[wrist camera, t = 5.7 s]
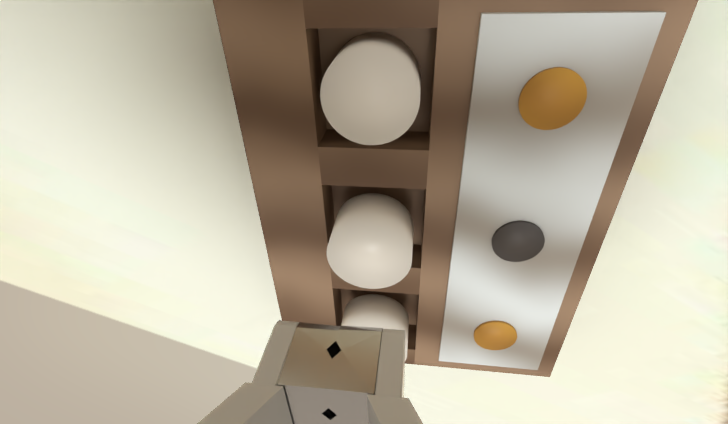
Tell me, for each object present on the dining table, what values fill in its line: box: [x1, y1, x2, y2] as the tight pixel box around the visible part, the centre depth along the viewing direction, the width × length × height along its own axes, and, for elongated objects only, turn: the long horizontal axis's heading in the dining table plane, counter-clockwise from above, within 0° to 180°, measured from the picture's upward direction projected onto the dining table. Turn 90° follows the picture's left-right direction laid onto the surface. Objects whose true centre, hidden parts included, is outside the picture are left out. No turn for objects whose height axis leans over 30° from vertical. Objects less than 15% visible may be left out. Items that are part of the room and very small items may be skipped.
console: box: [213, 0, 698, 377], centre depth 21 cm, size 22×17×4 cm
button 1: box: [341, 294, 409, 361], centre depth 24 cm, size 4×4×2 cm
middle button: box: [327, 193, 414, 289], centre depth 20 cm, size 4×4×2 cm
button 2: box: [320, 32, 421, 145], centre depth 17 cm, size 4×4×2 cm
